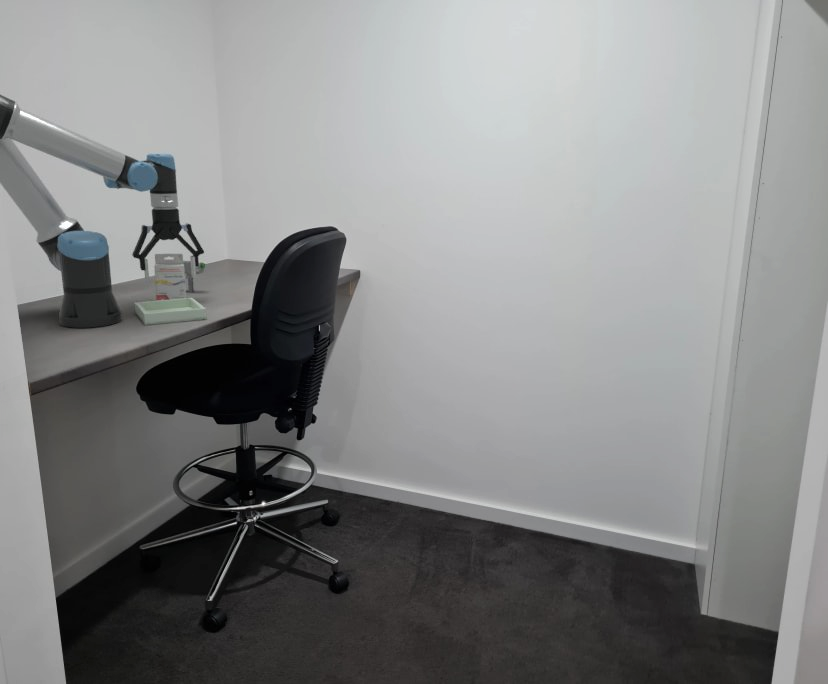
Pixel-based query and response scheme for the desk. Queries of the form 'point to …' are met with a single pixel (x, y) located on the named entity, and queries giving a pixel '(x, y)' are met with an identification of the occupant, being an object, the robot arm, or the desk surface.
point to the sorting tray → (170, 311)
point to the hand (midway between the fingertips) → (171, 279)
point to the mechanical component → (189, 275)
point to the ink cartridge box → (169, 277)
